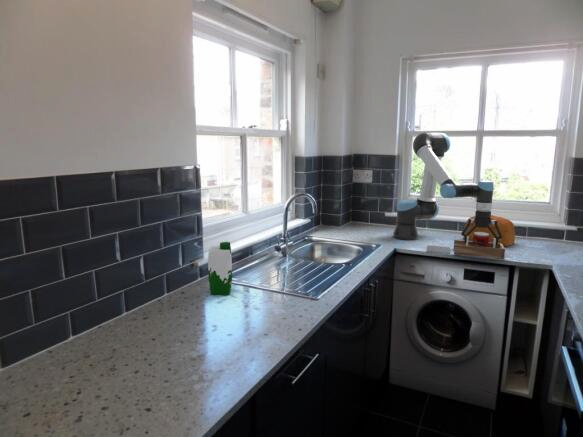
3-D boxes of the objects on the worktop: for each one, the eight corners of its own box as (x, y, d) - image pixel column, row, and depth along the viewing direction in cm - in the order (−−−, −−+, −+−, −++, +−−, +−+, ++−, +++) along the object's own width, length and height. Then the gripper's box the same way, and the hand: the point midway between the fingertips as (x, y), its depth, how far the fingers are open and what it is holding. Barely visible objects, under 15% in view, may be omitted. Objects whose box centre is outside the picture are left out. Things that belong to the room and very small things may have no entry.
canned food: (484, 251, 225) (486, 232, 223) (489, 255, 217) (491, 235, 215) (469, 251, 226) (471, 231, 224) (474, 255, 218) (476, 234, 216)
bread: (471, 235, 264) (473, 211, 261) (516, 243, 245) (519, 216, 242) (460, 239, 253) (462, 214, 250) (506, 247, 234) (509, 220, 231)
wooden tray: (453, 248, 232) (454, 239, 231) (501, 252, 224) (501, 243, 223) (453, 254, 220) (454, 245, 219) (504, 258, 211) (505, 249, 210)
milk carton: (231, 296, 159) (230, 245, 155) (208, 296, 158) (206, 246, 154) (233, 288, 167) (231, 240, 164) (210, 288, 167) (208, 240, 163)
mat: (427, 245, 237) (427, 245, 237) (449, 247, 233) (449, 247, 233) (426, 251, 224) (426, 251, 224) (449, 253, 220) (450, 253, 220)
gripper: (458, 209, 218) (455, 249, 222) (510, 212, 209) (506, 253, 213) (458, 207, 225) (455, 245, 229) (508, 210, 216) (504, 250, 220)
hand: (480, 249), depth 221 cm, fingers open, 12 cm apart
